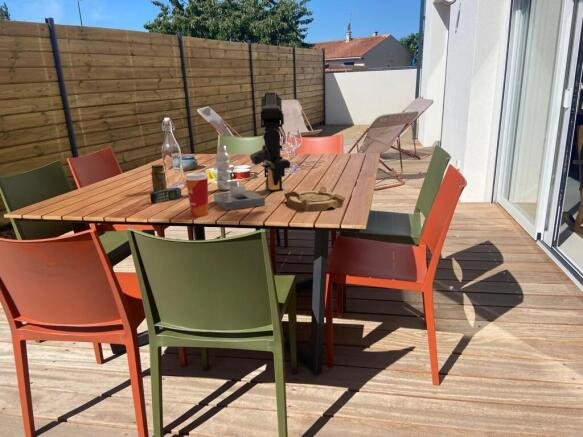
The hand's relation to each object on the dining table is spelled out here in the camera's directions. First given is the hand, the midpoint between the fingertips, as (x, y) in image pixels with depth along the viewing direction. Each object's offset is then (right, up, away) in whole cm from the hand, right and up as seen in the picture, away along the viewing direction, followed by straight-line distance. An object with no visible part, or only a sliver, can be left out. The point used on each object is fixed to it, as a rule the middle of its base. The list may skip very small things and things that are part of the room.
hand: (273, 184), depth 164 cm
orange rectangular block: (0, -2, 0) cm, 2 cm away
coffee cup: (-27, -12, -5) cm, 30 cm away
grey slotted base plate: (-14, -7, +10) cm, 19 cm away
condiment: (-53, -1, +34) cm, 63 cm away
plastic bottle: (-24, 0, +35) cm, 42 cm away
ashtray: (+16, -7, +7) cm, 19 cm away
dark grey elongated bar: (-45, -6, +18) cm, 49 cm away
